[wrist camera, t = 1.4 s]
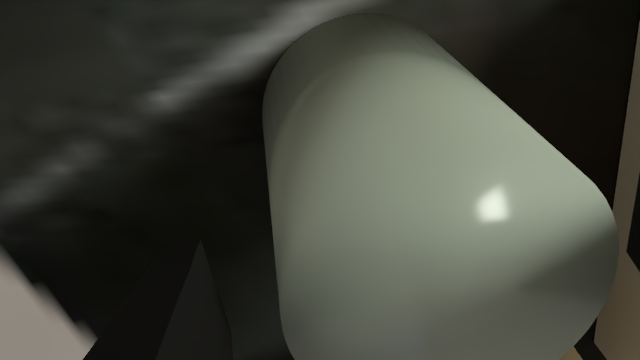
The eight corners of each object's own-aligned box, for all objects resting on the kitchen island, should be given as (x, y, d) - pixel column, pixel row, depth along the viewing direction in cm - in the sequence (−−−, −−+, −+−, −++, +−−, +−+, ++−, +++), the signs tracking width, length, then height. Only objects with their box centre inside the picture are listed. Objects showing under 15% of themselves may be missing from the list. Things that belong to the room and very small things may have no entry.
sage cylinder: (282, 213, 15) (310, 440, 9) (242, 34, 13) (245, 186, 7) (458, 178, 15) (600, 378, 9) (453, -5, 13) (641, 108, 7)
